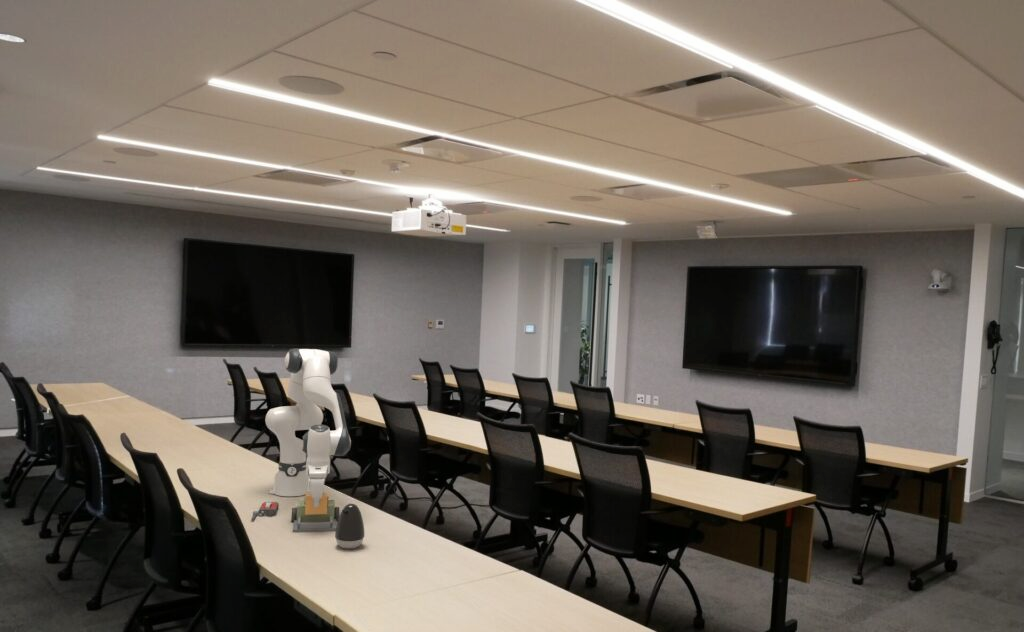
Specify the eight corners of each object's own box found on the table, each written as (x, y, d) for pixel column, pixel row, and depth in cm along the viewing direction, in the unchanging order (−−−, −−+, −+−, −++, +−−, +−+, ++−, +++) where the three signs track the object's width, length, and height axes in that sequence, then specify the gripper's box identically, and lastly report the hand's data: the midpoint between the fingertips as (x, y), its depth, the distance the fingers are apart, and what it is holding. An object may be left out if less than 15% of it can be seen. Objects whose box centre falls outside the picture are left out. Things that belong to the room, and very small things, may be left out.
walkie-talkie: (257, 508, 298) (249, 522, 279) (257, 498, 298) (249, 511, 279) (279, 508, 300) (273, 522, 280) (279, 497, 300) (273, 511, 280)
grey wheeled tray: (292, 517, 286) (293, 496, 286) (338, 516, 291) (339, 495, 291) (289, 532, 268) (290, 509, 268) (339, 530, 273) (340, 508, 272)
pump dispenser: (328, 548, 252) (330, 505, 252) (344, 540, 262) (346, 498, 262) (353, 553, 249) (355, 509, 249) (369, 544, 259) (371, 502, 258)
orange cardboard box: (305, 511, 277) (306, 493, 277) (327, 510, 279) (328, 492, 279) (305, 514, 272) (305, 496, 272) (327, 514, 274) (328, 495, 274)
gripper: (309, 462, 285) (308, 497, 285) (308, 474, 265) (307, 512, 265) (326, 462, 286) (324, 497, 286) (326, 474, 267) (324, 511, 267)
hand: (316, 504), depth 276 cm, fingers closed on orange cardboard box, 4 cm apart
